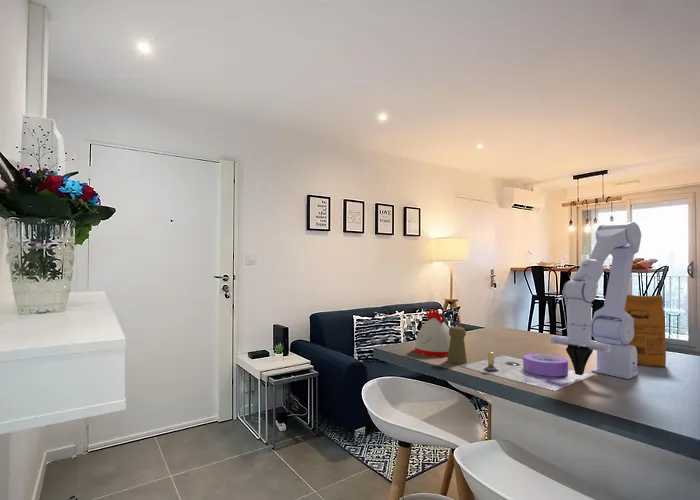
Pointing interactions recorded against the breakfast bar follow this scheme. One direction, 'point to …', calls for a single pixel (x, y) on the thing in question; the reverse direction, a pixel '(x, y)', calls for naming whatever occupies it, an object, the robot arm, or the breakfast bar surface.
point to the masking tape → (545, 365)
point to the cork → (457, 346)
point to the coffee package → (648, 329)
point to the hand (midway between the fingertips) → (579, 374)
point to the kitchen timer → (433, 336)
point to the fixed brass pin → (491, 362)
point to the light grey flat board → (526, 373)
